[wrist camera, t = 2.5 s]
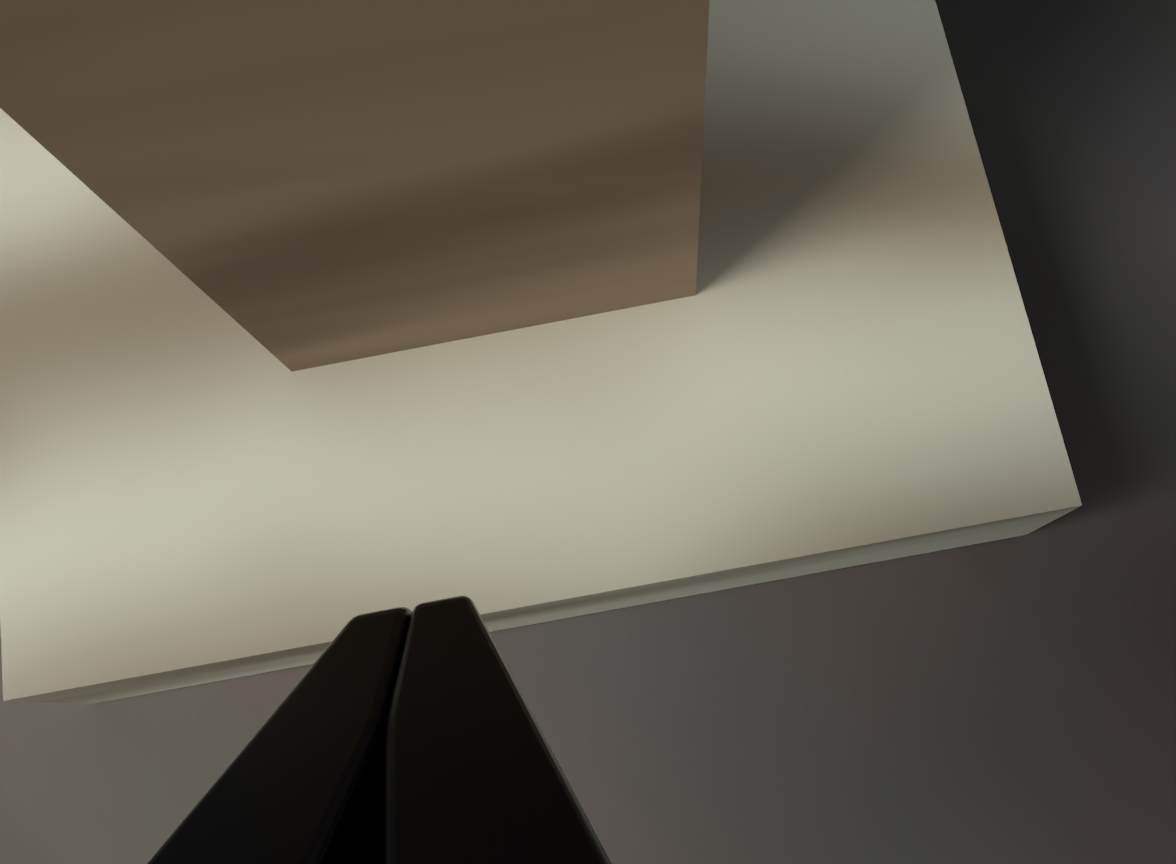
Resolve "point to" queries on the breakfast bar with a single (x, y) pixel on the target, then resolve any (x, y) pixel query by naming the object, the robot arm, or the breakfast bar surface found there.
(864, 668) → the breakfast bar surface
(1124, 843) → the breakfast bar surface
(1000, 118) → the breakfast bar surface
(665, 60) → the walnut block
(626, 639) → the breakfast bar surface
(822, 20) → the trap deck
